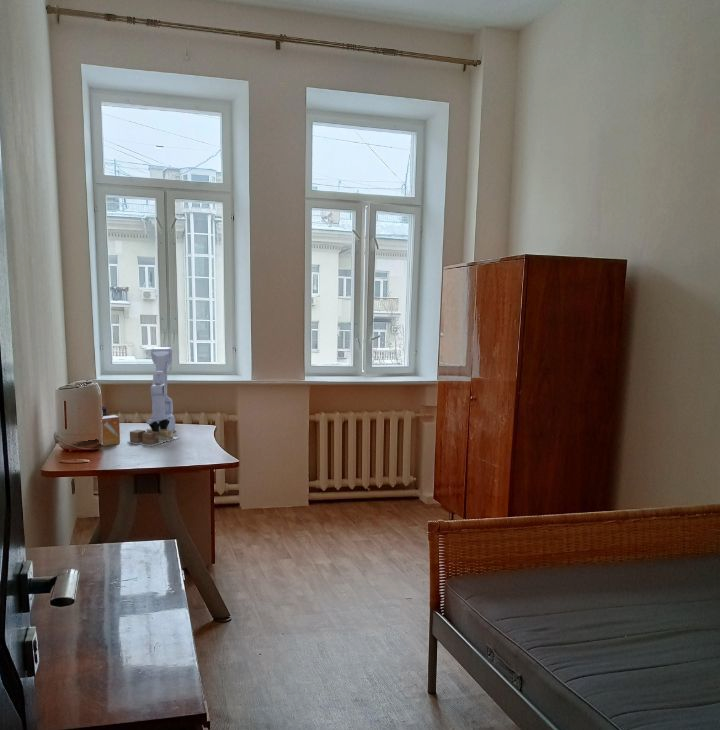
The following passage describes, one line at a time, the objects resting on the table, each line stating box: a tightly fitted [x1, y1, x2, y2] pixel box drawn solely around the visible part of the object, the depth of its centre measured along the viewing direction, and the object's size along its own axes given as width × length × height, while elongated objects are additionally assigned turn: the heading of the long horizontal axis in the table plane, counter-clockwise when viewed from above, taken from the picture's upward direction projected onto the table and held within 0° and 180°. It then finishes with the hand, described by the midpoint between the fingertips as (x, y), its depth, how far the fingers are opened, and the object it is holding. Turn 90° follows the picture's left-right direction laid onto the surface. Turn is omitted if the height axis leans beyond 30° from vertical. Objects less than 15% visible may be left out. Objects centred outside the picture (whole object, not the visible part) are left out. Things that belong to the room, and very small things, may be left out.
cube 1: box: [129, 429, 147, 443], centre depth 270 cm, size 5×5×5 cm
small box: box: [101, 414, 121, 447], centre depth 267 cm, size 8×6×13 cm
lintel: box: [145, 427, 174, 440], centre depth 278 cm, size 4×13×4 cm, turn 66°
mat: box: [126, 436, 180, 447], centre depth 274 cm, size 18×16×1 cm
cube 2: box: [142, 431, 159, 445], centre depth 267 cm, size 5×5×5 cm
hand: (159, 435), depth 278 cm, fingers closed on lintel, 4 cm apart
